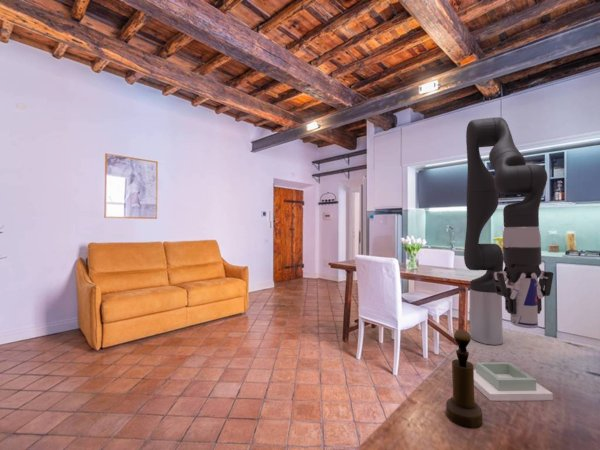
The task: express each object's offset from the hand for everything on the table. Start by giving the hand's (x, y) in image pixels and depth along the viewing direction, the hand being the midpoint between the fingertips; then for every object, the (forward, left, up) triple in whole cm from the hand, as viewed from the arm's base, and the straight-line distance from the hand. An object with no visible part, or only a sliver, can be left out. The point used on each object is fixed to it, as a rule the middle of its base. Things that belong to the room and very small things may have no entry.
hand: (523, 312), depth 71 cm
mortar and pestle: (+12, -22, -18) cm, 31 cm away
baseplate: (+1, -6, -18) cm, 19 cm away
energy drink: (0, 0, -3) cm, 3 cm away
